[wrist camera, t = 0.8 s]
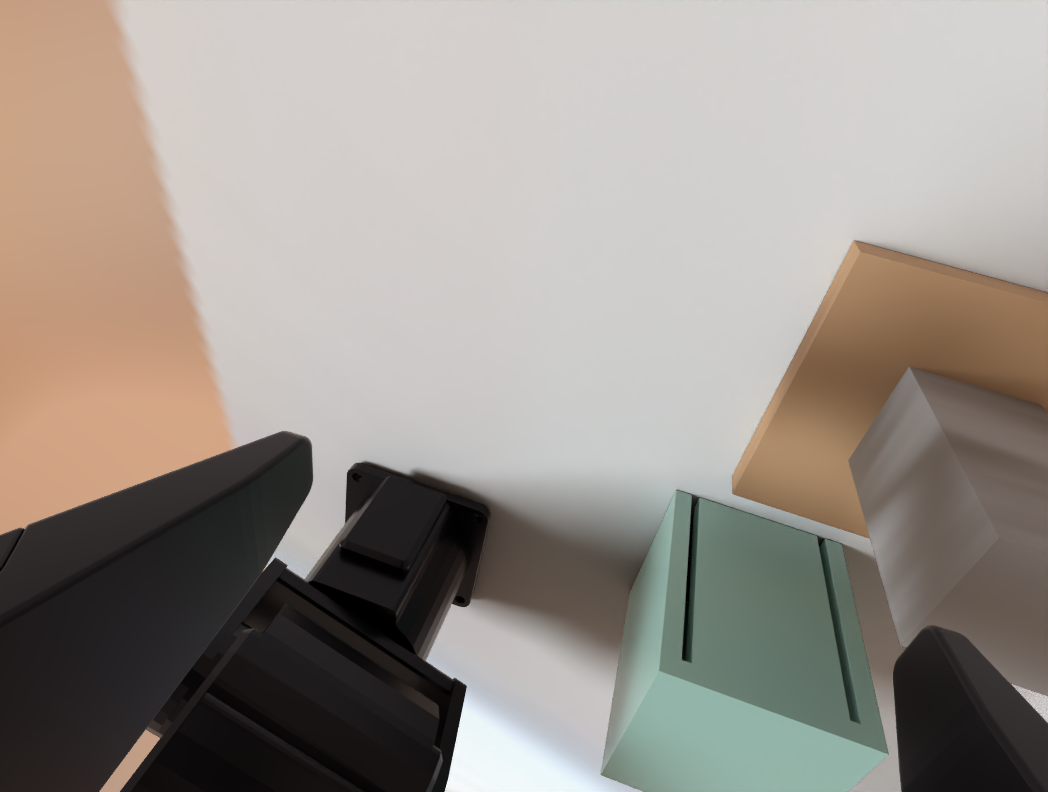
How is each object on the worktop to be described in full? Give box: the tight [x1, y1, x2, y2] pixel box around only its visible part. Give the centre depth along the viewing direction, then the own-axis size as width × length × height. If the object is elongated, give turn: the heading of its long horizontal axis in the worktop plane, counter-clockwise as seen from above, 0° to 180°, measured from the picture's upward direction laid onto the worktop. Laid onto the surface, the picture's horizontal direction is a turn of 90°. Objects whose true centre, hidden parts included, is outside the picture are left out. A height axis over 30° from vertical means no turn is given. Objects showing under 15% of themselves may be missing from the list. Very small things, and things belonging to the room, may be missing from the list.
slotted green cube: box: [601, 490, 889, 792], centre depth 21 cm, size 6×6×8 cm
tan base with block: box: [732, 241, 1048, 696], centre depth 16 cm, size 9×9×8 cm
